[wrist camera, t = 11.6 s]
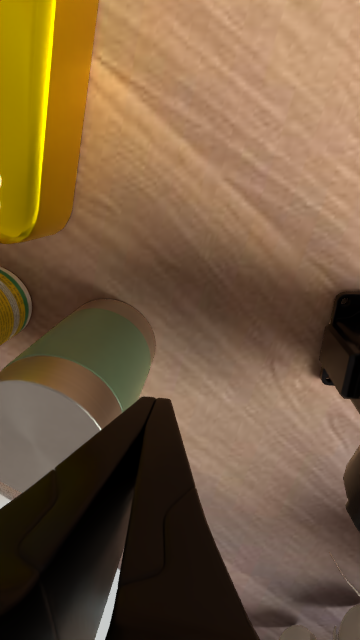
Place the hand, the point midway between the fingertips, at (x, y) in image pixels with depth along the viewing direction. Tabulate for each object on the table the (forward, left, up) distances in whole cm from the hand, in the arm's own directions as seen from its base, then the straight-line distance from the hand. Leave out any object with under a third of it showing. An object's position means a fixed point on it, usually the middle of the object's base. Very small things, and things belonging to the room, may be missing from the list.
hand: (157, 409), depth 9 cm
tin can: (+6, +4, -12) cm, 14 cm away
